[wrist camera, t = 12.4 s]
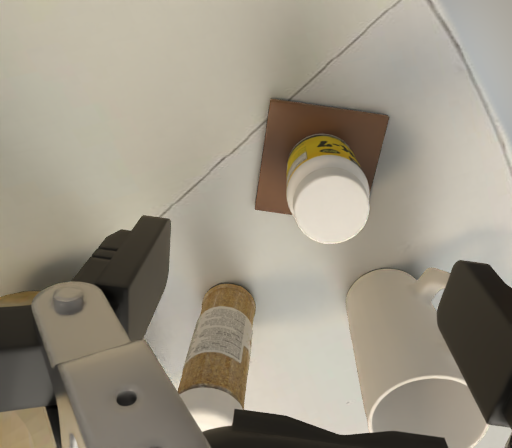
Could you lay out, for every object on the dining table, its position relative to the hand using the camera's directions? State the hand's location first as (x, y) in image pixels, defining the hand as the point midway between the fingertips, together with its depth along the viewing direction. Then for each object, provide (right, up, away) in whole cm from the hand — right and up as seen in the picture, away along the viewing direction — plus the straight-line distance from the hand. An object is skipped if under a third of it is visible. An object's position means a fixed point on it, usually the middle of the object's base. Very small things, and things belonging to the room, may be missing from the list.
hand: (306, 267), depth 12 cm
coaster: (+3, +6, +19) cm, 20 cm away
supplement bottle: (+3, +5, +18) cm, 20 cm away
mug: (+10, -4, +23) cm, 25 cm away
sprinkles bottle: (-4, -5, +24) cm, 25 cm away
